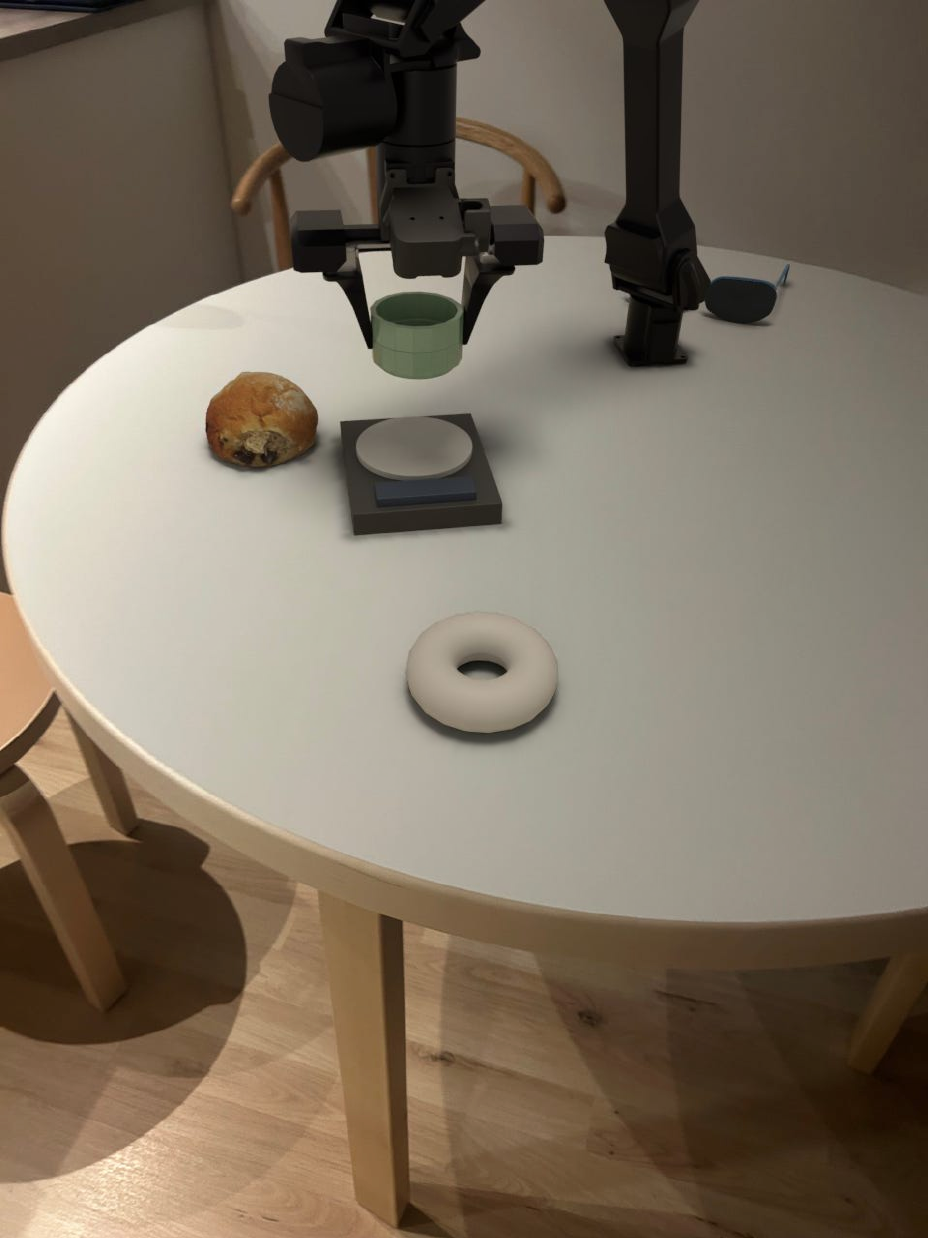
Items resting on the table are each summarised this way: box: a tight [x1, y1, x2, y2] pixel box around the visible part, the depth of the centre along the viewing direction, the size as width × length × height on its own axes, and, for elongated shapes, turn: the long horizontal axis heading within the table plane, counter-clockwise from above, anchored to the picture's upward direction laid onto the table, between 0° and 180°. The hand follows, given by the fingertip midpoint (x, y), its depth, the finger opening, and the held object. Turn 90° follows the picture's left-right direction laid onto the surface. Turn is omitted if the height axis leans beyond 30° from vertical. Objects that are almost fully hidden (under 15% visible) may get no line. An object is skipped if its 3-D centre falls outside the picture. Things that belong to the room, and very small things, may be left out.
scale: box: [339, 412, 503, 536], centre depth 82 cm, size 15×12×3 cm
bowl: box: [369, 291, 464, 381], centre depth 77 cm, size 7×7×4 cm
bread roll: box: [204, 371, 319, 468], centre depth 86 cm, size 10×10×8 cm
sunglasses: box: [628, 263, 791, 324], centre depth 115 cm, size 17×15×5 cm
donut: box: [404, 610, 559, 734], centre depth 62 cm, size 10×4×10 cm
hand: (416, 345), depth 78 cm, fingers closed on bowl, 7 cm apart
